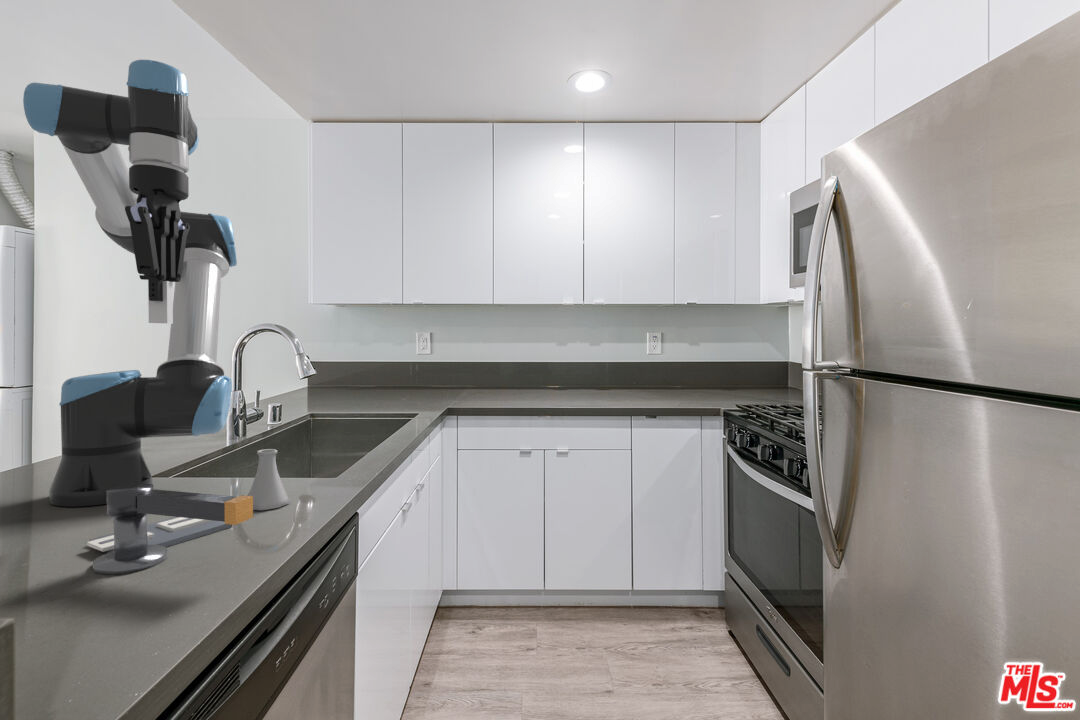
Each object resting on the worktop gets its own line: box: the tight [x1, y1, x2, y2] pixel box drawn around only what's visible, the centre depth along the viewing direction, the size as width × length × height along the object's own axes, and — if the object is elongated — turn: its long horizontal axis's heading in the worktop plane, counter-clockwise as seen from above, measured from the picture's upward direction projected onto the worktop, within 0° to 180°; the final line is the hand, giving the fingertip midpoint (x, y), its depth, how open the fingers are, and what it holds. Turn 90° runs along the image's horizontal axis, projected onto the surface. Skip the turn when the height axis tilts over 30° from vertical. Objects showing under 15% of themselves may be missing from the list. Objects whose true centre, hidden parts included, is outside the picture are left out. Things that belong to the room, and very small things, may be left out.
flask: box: [247, 448, 291, 511], centre depth 98 cm, size 7×7×10 cm
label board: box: [86, 516, 233, 553], centre depth 82 cm, size 10×16×1 cm, turn 152°
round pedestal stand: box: [92, 513, 168, 576], centre depth 73 cm, size 8×8×6 cm
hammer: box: [106, 483, 254, 526], centre depth 71 cm, size 20×5×3 cm, turn 78°
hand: (160, 323), depth 85 cm, fingers closed
